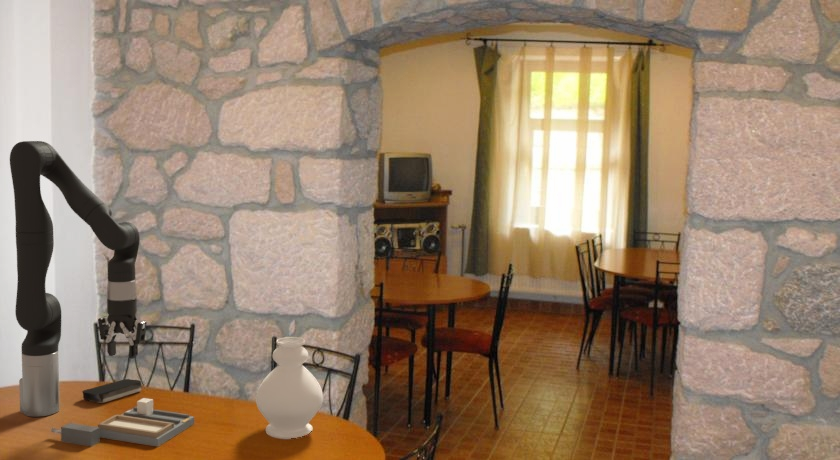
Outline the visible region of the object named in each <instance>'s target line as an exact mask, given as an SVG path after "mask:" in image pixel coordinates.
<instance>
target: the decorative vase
mask: <svg viewBox="0 0 840 460" xmlns="http://www.w3.org/2000/svg"><path fill="white" fill-rule="evenodd" d="M305 344H306V340H305V339H304V338H303V337H299V336H298V337H297V336H286V337H280V338H278V339H276V345H278V347H276V348H275V350H273V352H272V359H273V361H274V362H275V363H276V364H277V366H275V367H274V368H273V370H271V371H270V372H269V373H268V374H267V375H266V377H264V379H263V381H261V384H260V385H259V387H258V389H257V392H256V394H255V403H256V406H257V409H258V411H259V412H260V413H261V415H262V416H263V417H264V418H265V420H266V421H267V422H268V423H269V424H268V425H266V427H265V433H266V434H267V435H268V436H269V437H271V438H275V439H280V440H292V439H291V438H296V439H298V438H297V437H301V438H303V437H302V436H304V435H307V434H309V433H310V432H311V431H312V432H313V425H311V424H310V422H311V420H312V419H313V418H314V417H315V416H316V415H317V413H318V412H319V410H320V409H321V407H322V405H323V402H324V393H323V389H322V387H321V385H320V383H319V382H318V380H317V378H316V377H315V376H314V374H313V373H312V372H311V371H310V370H308V369H307V368H306V367H305V365H303V364H305V362H306V361H307V360H308V358H309V352H308V350H307V349H306V348H305V347H304V345H305ZM312 432H311V433H312ZM311 433H310V434H311ZM310 434H309V435H310ZM307 436H308V435H307Z"/></svg>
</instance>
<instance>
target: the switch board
mask: <svg viewBox="0 0 840 460" xmlns="http://www.w3.org/2000/svg"><path fill="white" fill-rule="evenodd" d="M193 425H195V416H192V415H190V414H189V413H180V412H174V411H169V410H168V411H167V410H160V409H154V408H153V414H151V415H144V414H137V406H134V407H133V408H131V409H128V410H126V411H124V412H123V413H122V414H114V415H112V416H110V417H109V418H107V419H105V420H103V421H101V422H99V423H97V427H100V438H102V439H103V438H104V439H108V440H114V441H119V442H120V441H121V442H128V443H133V444H140V445H145V446H151V447H160V446H162V445H164V443H167V442H168V441H169V440H171V439H173V438H174V437H176V436H177V435H179V434H180V433H182V432H184V431H185V430H186V429H188V428H190V427H192V426H193Z"/></svg>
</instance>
